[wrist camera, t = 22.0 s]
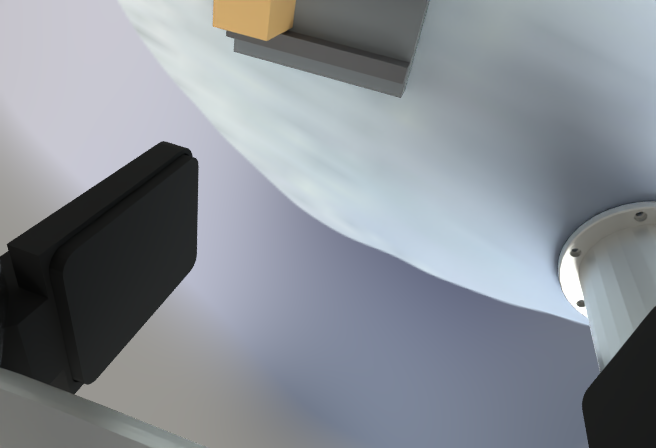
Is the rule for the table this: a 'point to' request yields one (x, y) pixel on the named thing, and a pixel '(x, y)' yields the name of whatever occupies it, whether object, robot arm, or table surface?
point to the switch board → (347, 41)
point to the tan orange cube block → (254, 17)
